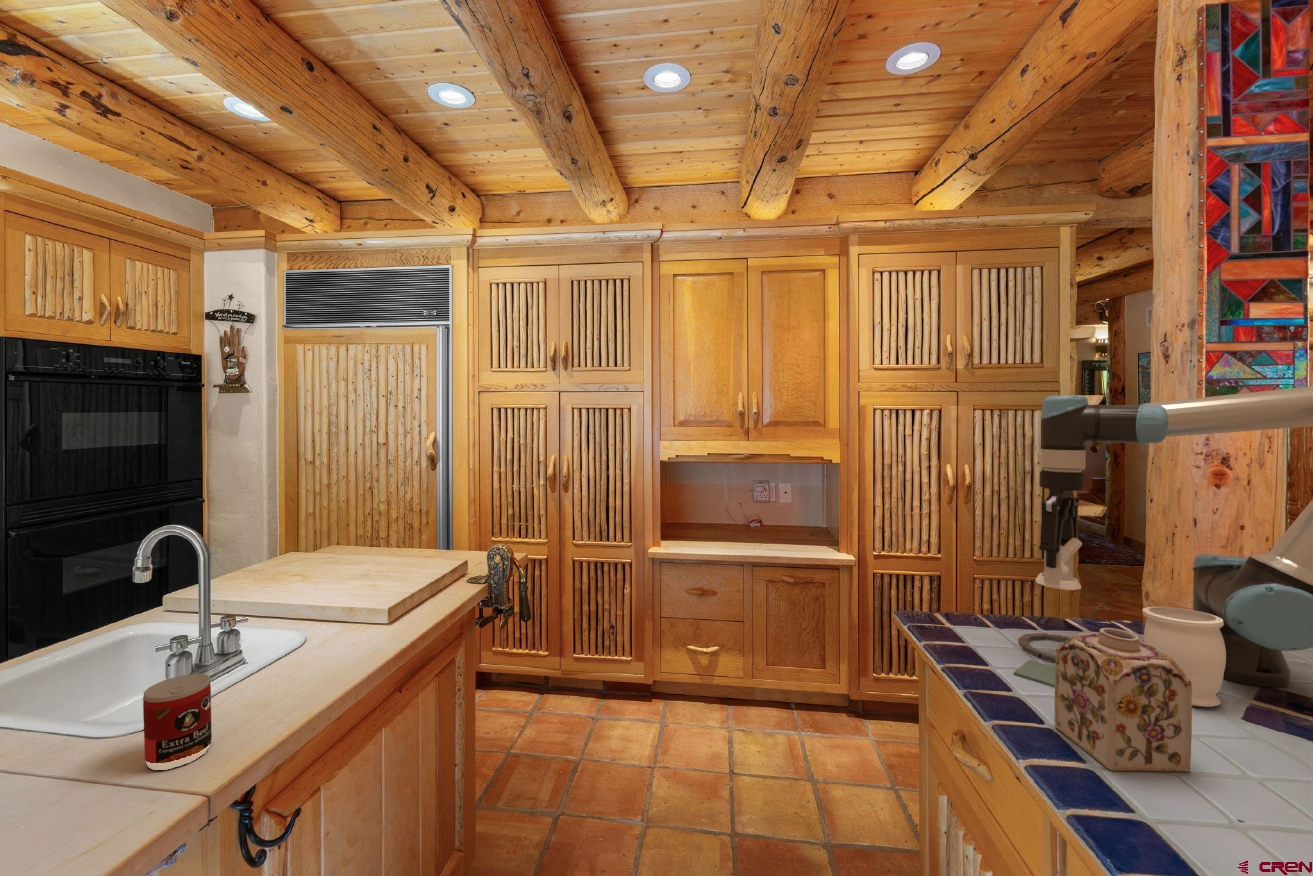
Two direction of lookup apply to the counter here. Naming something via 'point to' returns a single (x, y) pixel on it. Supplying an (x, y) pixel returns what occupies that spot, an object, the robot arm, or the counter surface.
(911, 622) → the counter surface
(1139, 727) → the decorative jar
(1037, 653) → the metal ring
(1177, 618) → the jar
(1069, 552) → the hook
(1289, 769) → the counter surface
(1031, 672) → the rubber mat
